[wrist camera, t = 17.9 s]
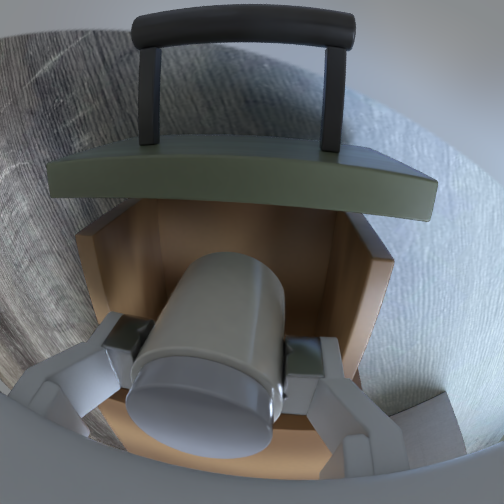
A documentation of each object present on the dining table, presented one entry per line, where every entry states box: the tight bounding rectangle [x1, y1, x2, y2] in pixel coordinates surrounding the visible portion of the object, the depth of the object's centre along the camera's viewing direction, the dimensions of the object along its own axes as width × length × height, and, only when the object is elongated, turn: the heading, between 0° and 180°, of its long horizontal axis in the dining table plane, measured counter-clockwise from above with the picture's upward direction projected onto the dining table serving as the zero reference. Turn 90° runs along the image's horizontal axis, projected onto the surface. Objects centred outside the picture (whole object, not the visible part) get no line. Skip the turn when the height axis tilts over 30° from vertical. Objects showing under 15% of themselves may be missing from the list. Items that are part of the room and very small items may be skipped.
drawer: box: [46, 4, 438, 416], centre depth 12 cm, size 18×11×7 cm, turn 178°
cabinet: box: [98, 368, 362, 480], centre depth 18 cm, size 15×13×9 cm
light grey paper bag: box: [389, 392, 467, 469], centre depth 18 cm, size 4×7×10 cm, turn 122°
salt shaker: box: [125, 252, 285, 459], centre depth 8 cm, size 4×4×6 cm
